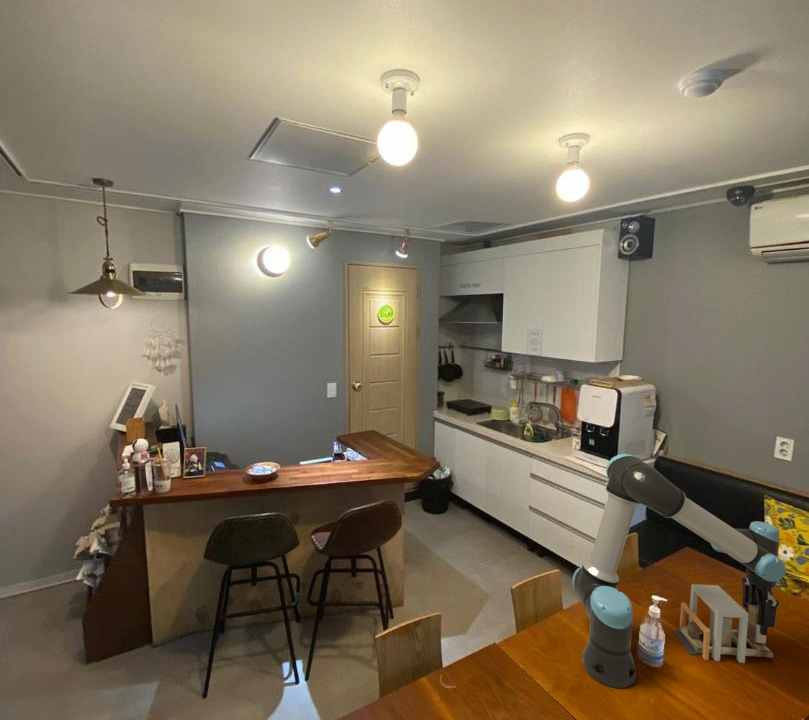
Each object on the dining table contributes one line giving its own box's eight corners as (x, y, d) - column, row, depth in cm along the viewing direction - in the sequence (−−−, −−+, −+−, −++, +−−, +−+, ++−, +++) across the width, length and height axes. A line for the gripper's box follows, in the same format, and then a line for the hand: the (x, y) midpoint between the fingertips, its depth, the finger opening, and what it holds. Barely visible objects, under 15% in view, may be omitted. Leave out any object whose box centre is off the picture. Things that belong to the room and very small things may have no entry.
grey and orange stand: (704, 660, 140) (708, 611, 138) (679, 627, 154) (682, 583, 153) (744, 662, 139) (748, 613, 137) (715, 630, 153) (718, 585, 152)
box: (731, 651, 144) (733, 619, 143) (717, 649, 144) (719, 618, 143) (721, 639, 149) (723, 608, 148) (708, 638, 149) (710, 607, 148)
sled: (697, 652, 142) (699, 614, 141) (679, 630, 152) (682, 594, 151) (772, 657, 140) (775, 619, 139) (749, 634, 150) (752, 598, 149)
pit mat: (690, 654, 142) (690, 653, 142) (672, 631, 153) (672, 630, 153) (709, 656, 141) (709, 655, 141) (690, 632, 152) (690, 631, 152)
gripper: (793, 585, 135) (787, 657, 136) (755, 557, 151) (750, 621, 153) (768, 584, 135) (762, 655, 137) (732, 556, 152) (727, 619, 154)
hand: (755, 637), depth 145 cm, fingers closed on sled, 3 cm apart
